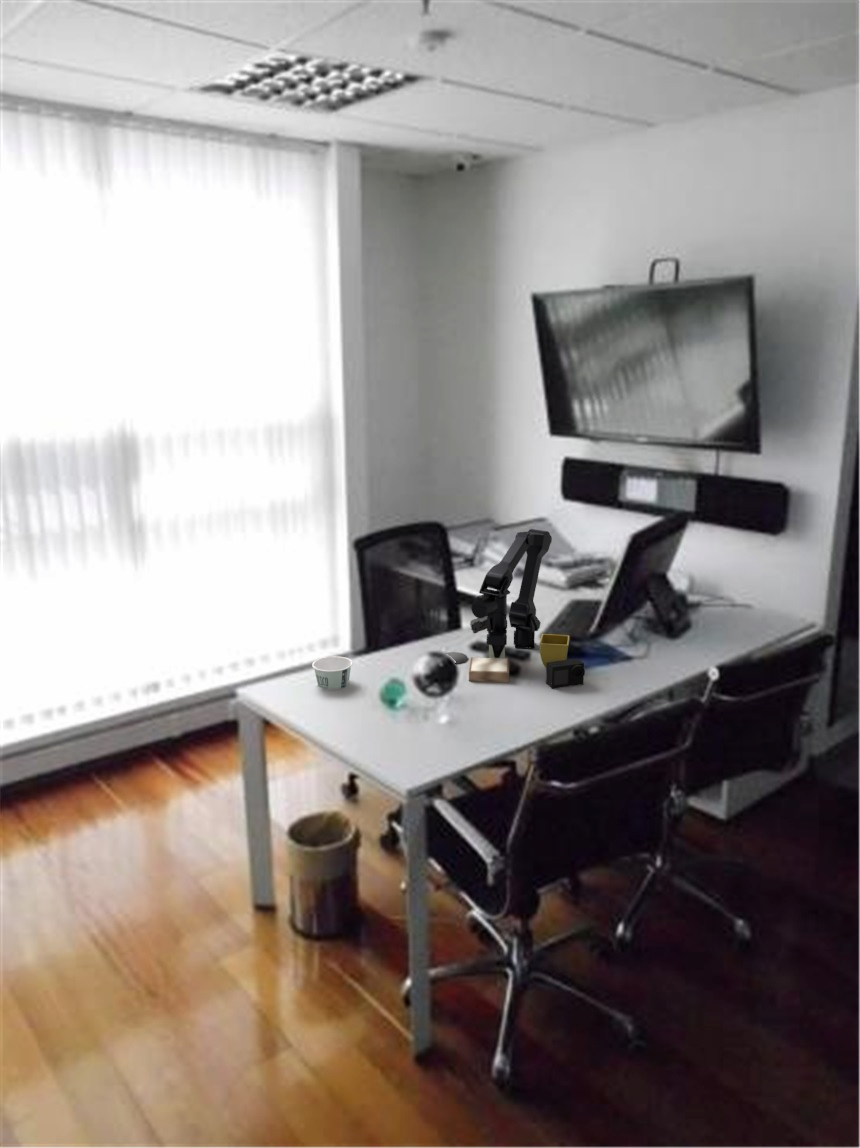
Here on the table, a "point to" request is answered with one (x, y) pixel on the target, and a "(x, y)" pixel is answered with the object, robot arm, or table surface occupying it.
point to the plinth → (489, 669)
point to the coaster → (458, 657)
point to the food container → (332, 672)
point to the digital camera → (565, 673)
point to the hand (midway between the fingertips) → (496, 656)
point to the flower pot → (553, 647)
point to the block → (491, 653)
